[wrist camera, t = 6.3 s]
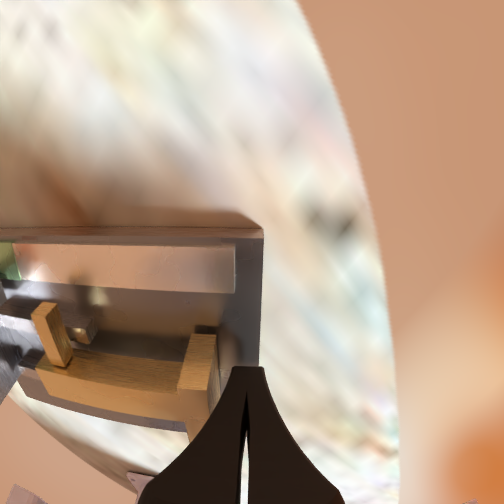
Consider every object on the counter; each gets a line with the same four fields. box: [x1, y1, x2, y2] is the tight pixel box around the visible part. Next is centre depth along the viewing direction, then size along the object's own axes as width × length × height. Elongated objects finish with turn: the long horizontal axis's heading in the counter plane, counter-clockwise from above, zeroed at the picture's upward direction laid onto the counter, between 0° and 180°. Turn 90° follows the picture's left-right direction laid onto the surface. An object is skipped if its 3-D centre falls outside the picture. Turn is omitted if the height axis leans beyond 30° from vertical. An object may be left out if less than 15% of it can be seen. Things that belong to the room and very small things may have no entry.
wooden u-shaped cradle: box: [31, 302, 220, 443], centre depth 11 cm, size 6×8×3 cm
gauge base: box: [0, 227, 264, 437], centre depth 12 cm, size 12×16×5 cm
